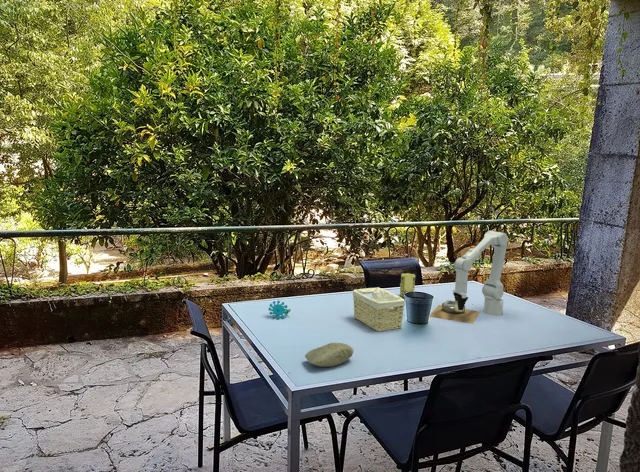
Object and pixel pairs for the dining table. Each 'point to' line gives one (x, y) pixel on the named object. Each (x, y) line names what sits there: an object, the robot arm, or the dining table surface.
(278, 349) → the dining table surface
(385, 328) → the storage basket
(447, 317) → the board
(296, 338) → the dining table surface
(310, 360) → the rock
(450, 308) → the grey round socket base
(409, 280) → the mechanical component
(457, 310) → the flanged cap
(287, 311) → the teal virus model
